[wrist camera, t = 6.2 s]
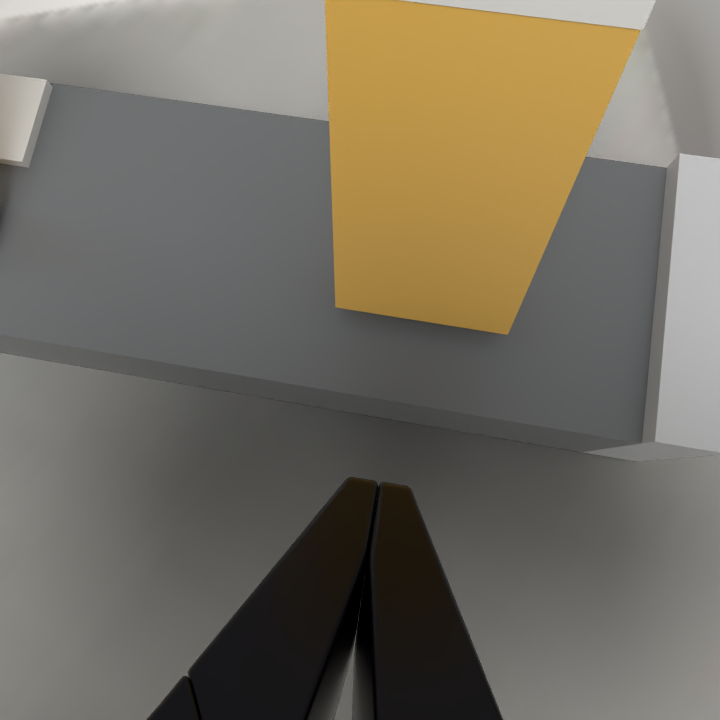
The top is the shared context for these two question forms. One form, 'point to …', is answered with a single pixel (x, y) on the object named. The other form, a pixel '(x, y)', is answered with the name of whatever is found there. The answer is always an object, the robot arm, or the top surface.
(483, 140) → the outlet rocker
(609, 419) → the power strip
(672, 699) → the top surface
